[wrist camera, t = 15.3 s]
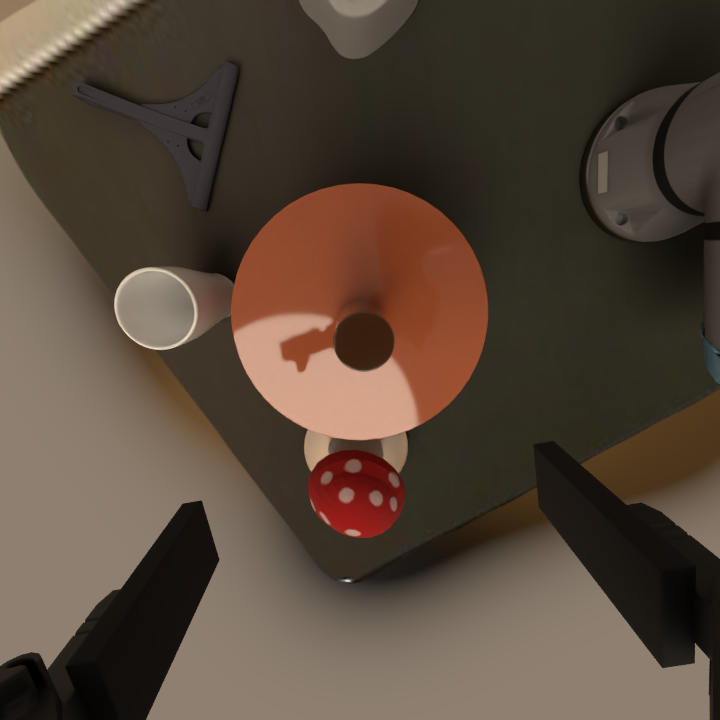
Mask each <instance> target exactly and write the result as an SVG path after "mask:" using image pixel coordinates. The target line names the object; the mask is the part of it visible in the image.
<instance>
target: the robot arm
mask: <svg viewBox="0 0 720 720" xmlns="http://www.w3.org/2000/svg"><path fill="white" fill-rule="evenodd" d="M580 185H581V193H582V198H583V201H584V204H585V207H586V209H587V211H588V213H589V215H590V216H591V218H592V219H593V221H594V222H595V223H596V224H597V225H598V226H599V227H600V228H601V229H602V230H603V231H605V232H606V233H607V234H609V235H611V236H613V237H615V238H617V239H620V240H623V241H628V242H652V241H660V240H664V239H668V238H671V237H674V236H676V235H679V234H681V233H684V232H686V231H688V230H689V229H691V228H693V227H695V226H697V225H699V224H701V223H703V222H704V221H705V222H704V272H703V322H702V323H701V325H700V335H701V338H702V340H703V349H704V364H705V367H706V369H707V371H708V372H709V373H710V375H711V376H712V377H713V379H714V380H715V381H716V382H717V383H718V384H720V72H719V73H717V74H716V75H714V76H712V77H710V78H708V79H706V80H704V81H702V82H698V83H689V84H680V85H671V86H664V87H659V88H656V89H652V90H649V91H646V92H644V93H641V94H639V95H637V96H635V97H634V98H632V99H630V100H628V101H627V102H625V103H623V104H622V105H620V106H619V107H618V108H616V109H615V110H614V111H612V112H611V113H610V114H609V115H608V116H607V117H606V118H605V119H604V120H603V121H602V123H601V124H600V125H599V126H598V128H597V129H596V130H595V132H594V134H593V135H592V137H591V139H590V141H589V143H588V145H587V148H586V150H585V153H584V157H583V160H582V165H581V173H580ZM534 455H535V467H536V479H537V490H538V502H539V508H540V509H541V510H542V512H543V513H544V514H545V516H546V517H547V518H548V519H549V521H550V522H551V523H552V525H553V526H554V527H555V529H556V530H557V531H558V533H559V534H560V535H561V536H562V538H563V539H564V540H565V542H566V543H567V544H568V546H569V547H570V548H571V550H572V551H573V552H574V553H575V555H576V556H577V557H578V559H579V560H580V561H581V563H582V564H583V565H584V566H585V568H586V569H587V570H588V572H589V573H590V574H591V576H592V577H593V578H594V580H595V581H596V582H597V583H598V585H599V586H600V587H601V589H602V590H603V591H604V593H605V594H606V595H607V596H608V598H609V599H610V600H611V602H612V603H613V604H614V606H615V607H616V608H617V609H618V611H619V612H620V613H621V615H622V616H623V617H624V619H625V620H626V621H627V622H628V624H629V625H630V626H631V628H632V629H633V630H634V632H635V633H636V634H637V635H638V637H639V638H640V639H641V641H642V642H643V643H644V645H645V646H646V647H647V649H648V650H649V651H650V652H651V654H652V655H653V656H654V658H655V659H656V660H657V662H658V663H659V664H660V665H661V667H662V668H666V667H673V666H679V665H686V664H692V663H695V643H696V644H697V645H698V647H699V648H700V649H701V650H702V651H703V652H704V653H705V654H706V655H707V656H708V658H709V659H710V669H709V671H710V672H709V695H710V720H720V559H719V558H718V557H717V556H715V555H714V554H713V553H712V552H710V551H709V550H708V549H707V548H705V547H704V546H703V545H702V544H700V543H699V542H698V541H697V540H695V539H694V538H693V537H692V536H690V535H688V534H687V532H685V531H684V530H683V529H682V528H680V527H679V526H676V525H675V523H674V522H673V521H671V520H670V519H669V518H668V517H666V516H665V515H664V514H663V513H662V512H660V511H658V510H656V509H654V508H651V507H650V506H647V505H645V504H643V503H637V504H631V505H626V504H625V503H623V502H622V501H621V500H620V499H619V498H618V497H617V496H615V495H614V494H613V493H612V492H611V491H610V490H609V489H608V488H606V487H605V486H604V485H603V484H602V483H601V482H599V481H598V480H597V479H596V478H595V477H594V476H593V475H592V474H590V473H589V472H588V471H587V470H586V469H584V467H582V466H581V465H580V464H579V463H578V462H577V461H576V460H574V459H573V458H572V457H571V456H570V455H569V454H568V453H566V452H565V451H564V450H563V449H562V448H561V447H560V446H558V445H557V444H556V443H555V442H554V441H551V442H545V443H539V444H534ZM218 562H219V557H218V554H217V550H216V547H215V544H214V541H213V537H212V534H211V530H210V527H209V523H208V520H207V517H206V513H205V510H204V507H203V503H202V501H196V502H191V503H184V504H182V505H181V507H180V508H179V510H178V511H177V512H176V514H175V515H174V517H173V518H172V519H171V521H170V522H169V523H168V525H167V526H166V528H165V529H164V530H163V532H162V533H161V534H160V536H159V537H158V539H157V540H156V542H155V543H154V544H153V546H152V547H151V548H150V550H149V551H148V552H147V554H146V555H145V557H144V558H143V559H142V561H141V562H140V563H139V565H138V566H137V568H136V569H135V570H134V572H133V573H132V574H131V576H130V577H129V579H128V580H127V581H126V583H125V584H124V586H123V587H122V588H121V589H120V590H113V591H112V592H111V593H110V594H109V595H107V596H106V597H105V598H104V599H103V600H102V601H101V602H99V603H98V604H97V605H96V607H95V608H94V609H93V611H92V612H91V613H90V614H89V616H88V617H87V618H86V620H85V623H83V624H82V625H81V626H80V628H79V629H78V630H77V632H76V634H75V636H73V637H72V638H71V639H70V641H69V642H68V643H67V645H66V646H65V647H64V649H63V650H62V651H61V652H60V654H59V655H58V656H57V658H56V659H55V660H54V662H53V663H52V664H51V666H50V667H49V668H48V670H47V669H46V666H45V664H44V662H43V660H42V658H41V656H40V655H39V654H38V653H32V652H31V653H27V654H23V655H20V656H18V657H16V658H14V659H12V660H9V661H7V662H6V663H4V664H3V665H1V666H0V720H146V718H147V716H148V714H149V712H150V709H151V707H152V705H153V703H154V701H155V699H156V696H157V694H158V692H159V690H160V688H161V685H162V683H163V681H164V679H165V677H166V675H167V673H168V670H169V668H170V666H171V664H172V662H173V660H174V657H175V655H176V653H177V651H178V649H179V647H180V644H181V642H182V640H183V638H184V636H185V634H186V631H187V629H188V627H189V625H190V623H191V620H192V618H193V616H194V614H195V612H196V610H197V607H198V605H199V603H200V601H201V599H202V596H203V594H204V592H205V590H206V588H207V586H208V584H209V581H210V579H211V577H212V575H213V573H214V570H215V568H216V566H217V564H218Z"/></svg>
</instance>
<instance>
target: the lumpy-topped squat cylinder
mask: <svg viewBox="0 0 720 720" xmlns="http://www.w3.org/2000/svg"><path fill="white" fill-rule="evenodd" d="M299 1H300V4H301V7H302V8H303V10H304V11H305V13H306V14H307V15H308V16H309V17H310V18H311V19H312V20H313V21H315V22H316V23H317V24H318V25H319V26H320V27H321V28H322V30H323V31H324V32H325V34H326V35H327V37H328V39H329V41H330V42H331V44H332V46H333V47H334V48H335V50H336V51H337V52H338V53H339V54H340V55H342V56H343V57H345V58H349V59H360V58H364V57H366V56H368V55H370V54H372V53H373V52H375V51H376V50H377V49H378V48H379V47H381V46H382V45H383V44H384V43H385V42H386V41H388V40H389V39H390V38H391V37H392V36H393V35H394V34H395V33H396V32H397V31H398V30H399V29H400V27H401V26H402V25H403V24H404V23H405V22H406V21H407V19H408V18H409V17H410V15H411V14H412V13H413V11H414V9H415V7H416V5H417V2H418V0H299Z"/></svg>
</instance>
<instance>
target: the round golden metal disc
mask: <svg viewBox="0 0 720 720" xmlns="http://www.w3.org/2000/svg"><path fill="white" fill-rule="evenodd" d="M332 438H333V437H329V436H326V435H322V434H319V433H316V432H313V431H311V430H309V429H307V432H306V436H305V441H304V454H305V459H306V462H307V464H308V467H309V469H310V470H311V472H312V470H313V469H314V467H315V466H316V464H317V463H318V462H319V461H320V460H322V459H323V458H324V457H326V456H327V455H329V452H328V446H329V442H330V441H331V439H332ZM375 440H376V441H377V442H378V443H379V444H380V446H381V447H382V450H383V454H384V456H383V459H385V460H386V461H387V462H388V463H389V464H390V465H391V466H393V467H394V468H395V469H396V471H397V472H398V474H399V473H400V471H401V470H402V468H403V466H404V464H405V461H406V458H407V453H408V440H407V435H406V432H403V433H400V434H397V435H394V436H389V437H385V438H380V439H375Z"/></svg>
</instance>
